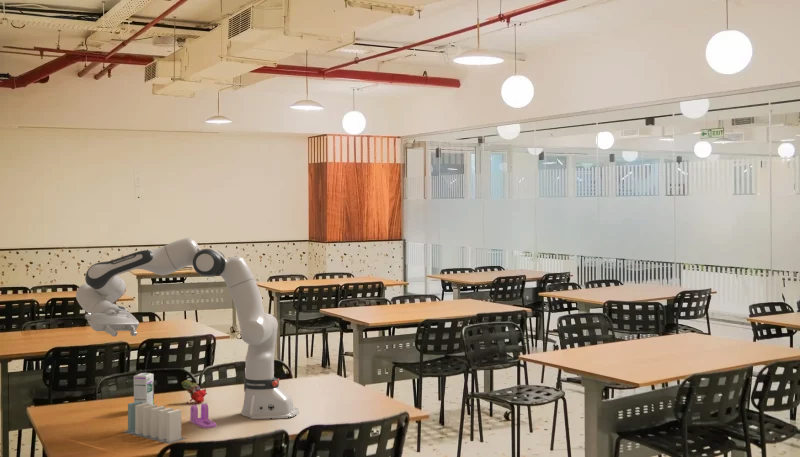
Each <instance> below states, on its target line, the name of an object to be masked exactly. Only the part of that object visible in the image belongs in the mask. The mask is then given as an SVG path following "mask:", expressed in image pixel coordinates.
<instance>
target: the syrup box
mask: <svg viewBox="0 0 800 457" xmlns="http://www.w3.org/2000/svg"><path fill="white" fill-rule="evenodd" d="M154 376H155V375H154V373H151V372H140V373H138V374H135V375H133V402H138V401H142V404H143V403H150V405H154V404H155V392H154V391H155V385H154V384H155V383H154V381H155V380H154Z"/></svg>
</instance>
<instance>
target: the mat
mask: <svg viewBox="0 0 800 457" xmlns="http://www.w3.org/2000/svg"><path fill="white" fill-rule="evenodd" d="M123 433H125V434H129V435H133V436H135V437H136V436H137V437H140V438H145V439H148V440H153V441H156V442H159V443H164V444H172V443H175V442H180V441H183V440H186V439H187V437H183V436H181V439H178V440H175V441H171V442H168V441H166V439H163V440H160V439H158V437H155V438H152V437H151V435H148V436H144V435H143V433H140V434H136V433H135V431H133V432H128V429H127V430H124V431H123Z"/></svg>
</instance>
